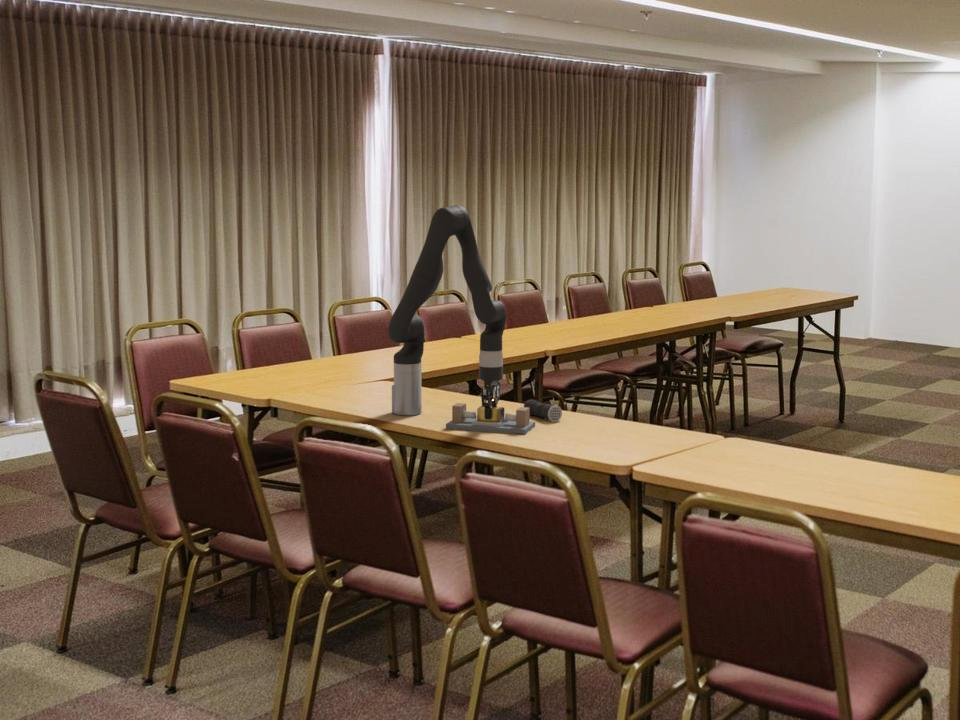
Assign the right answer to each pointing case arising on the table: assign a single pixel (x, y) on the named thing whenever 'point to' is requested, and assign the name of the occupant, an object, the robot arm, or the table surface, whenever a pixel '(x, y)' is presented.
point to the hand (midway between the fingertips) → (490, 417)
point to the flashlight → (544, 410)
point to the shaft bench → (510, 424)
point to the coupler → (496, 414)
